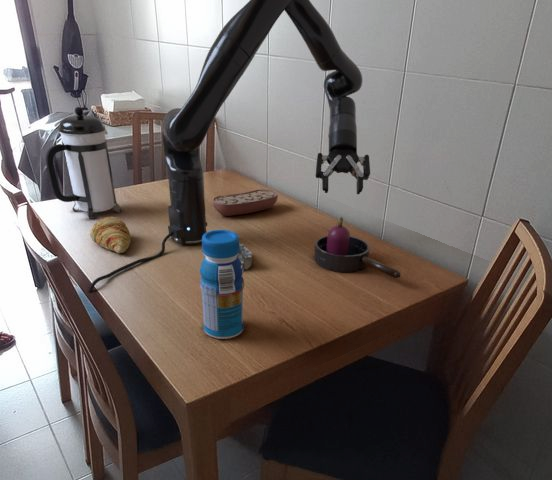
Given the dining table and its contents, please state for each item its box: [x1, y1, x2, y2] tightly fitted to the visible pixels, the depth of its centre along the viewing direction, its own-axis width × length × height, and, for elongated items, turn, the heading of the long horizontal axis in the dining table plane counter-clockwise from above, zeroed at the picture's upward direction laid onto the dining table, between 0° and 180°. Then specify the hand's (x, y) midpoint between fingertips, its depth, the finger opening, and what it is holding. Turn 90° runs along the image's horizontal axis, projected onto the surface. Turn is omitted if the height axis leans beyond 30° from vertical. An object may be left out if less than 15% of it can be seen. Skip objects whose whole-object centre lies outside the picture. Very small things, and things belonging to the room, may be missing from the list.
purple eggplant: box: [326, 216, 351, 256], centre depth 125 cm, size 6×6×11 cm
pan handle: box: [361, 257, 401, 279], centre depth 117 cm, size 12×2×2 cm, turn 40°
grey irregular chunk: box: [237, 243, 253, 270], centre depth 123 cm, size 11×8×4 cm
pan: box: [313, 235, 371, 273], centre depth 126 cm, size 14×14×4 cm
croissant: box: [89, 215, 132, 254], centre depth 131 cm, size 21×10×8 cm, turn 32°
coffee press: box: [45, 106, 122, 220], centre depth 143 cm, size 17×16×30 cm
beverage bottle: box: [199, 229, 245, 340], centre depth 92 cm, size 8×8×20 cm
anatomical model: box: [212, 188, 279, 217], centre depth 155 cm, size 23×10×5 cm, turn 124°
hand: (342, 192), depth 126 cm, fingers open, 8 cm apart
